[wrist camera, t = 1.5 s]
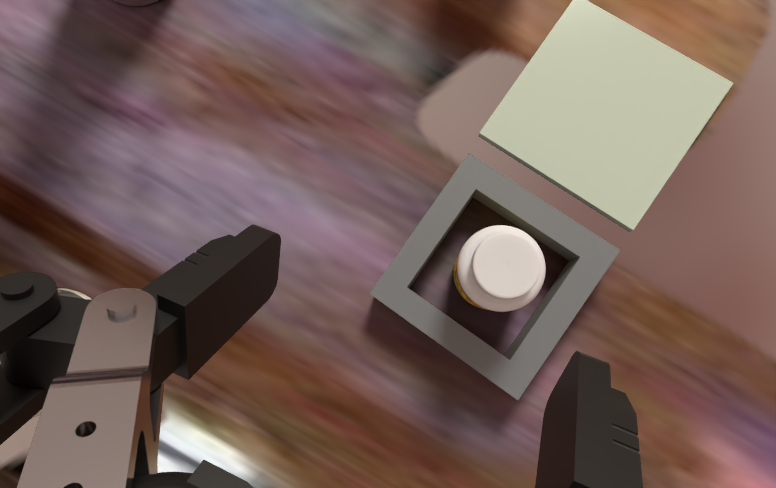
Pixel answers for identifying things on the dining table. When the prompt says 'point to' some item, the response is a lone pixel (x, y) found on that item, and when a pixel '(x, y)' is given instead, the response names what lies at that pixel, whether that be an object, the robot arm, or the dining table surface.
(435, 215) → the post collar
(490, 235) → the supplement bottle
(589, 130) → the coaster
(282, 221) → the dining table surface
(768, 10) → the dining table surface
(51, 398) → the robot arm
